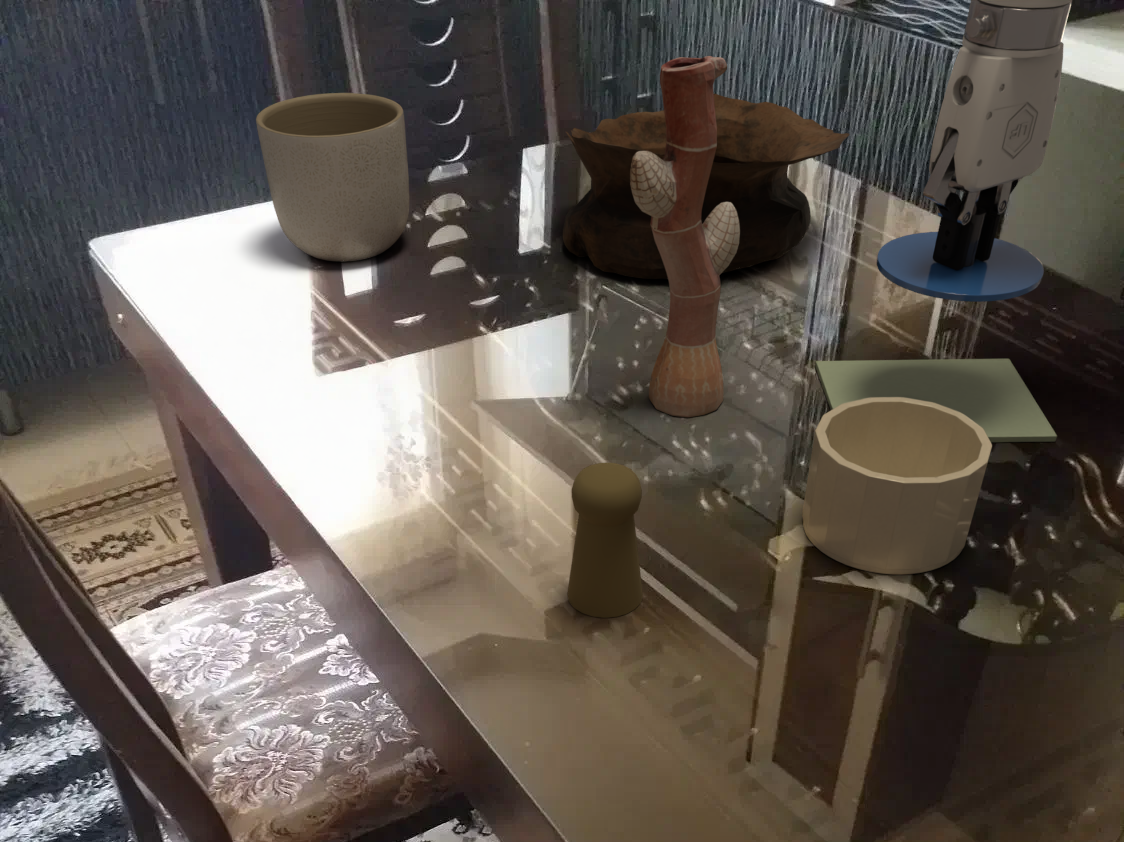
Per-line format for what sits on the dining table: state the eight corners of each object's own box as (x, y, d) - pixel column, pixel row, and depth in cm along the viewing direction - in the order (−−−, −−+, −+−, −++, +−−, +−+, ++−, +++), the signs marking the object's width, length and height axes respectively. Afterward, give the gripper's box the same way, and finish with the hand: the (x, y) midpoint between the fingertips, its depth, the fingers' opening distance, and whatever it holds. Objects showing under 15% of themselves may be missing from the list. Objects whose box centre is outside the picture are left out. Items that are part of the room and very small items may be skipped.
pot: (943, 484, 102) (966, 395, 97) (984, 573, 93) (1012, 481, 87) (791, 486, 103) (804, 397, 97) (816, 575, 93) (832, 483, 87)
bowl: (503, 254, 146) (495, 121, 136) (682, 203, 163) (686, 82, 153) (705, 313, 125) (712, 161, 116) (886, 248, 142) (905, 111, 133)
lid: (1013, 243, 110) (1030, 180, 106) (1061, 308, 99) (1082, 240, 95) (861, 244, 110) (872, 181, 106) (893, 309, 99) (906, 242, 95)
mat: (1007, 363, 119) (1009, 358, 119) (1055, 441, 108) (1057, 436, 107) (814, 366, 119) (815, 360, 119) (842, 444, 108) (843, 438, 107)
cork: (629, 624, 89) (633, 501, 81) (556, 608, 90) (553, 486, 82) (652, 580, 93) (658, 459, 85) (581, 566, 94) (581, 445, 86)
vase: (721, 380, 117) (751, 44, 96) (734, 415, 112) (769, 67, 91) (618, 385, 117) (626, 48, 96) (627, 421, 111) (637, 72, 90)
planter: (426, 265, 139) (413, 129, 129) (285, 281, 136) (260, 142, 126) (405, 216, 151) (392, 87, 140) (275, 229, 148) (251, 99, 138)
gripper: (984, 51, 85) (930, 296, 98) (1118, 19, 92) (1052, 253, 105) (908, 31, 90) (866, 268, 103) (1042, 2, 96) (987, 228, 109)
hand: (960, 258), depth 104 cm, fingers closed on lid, 2 cm apart
